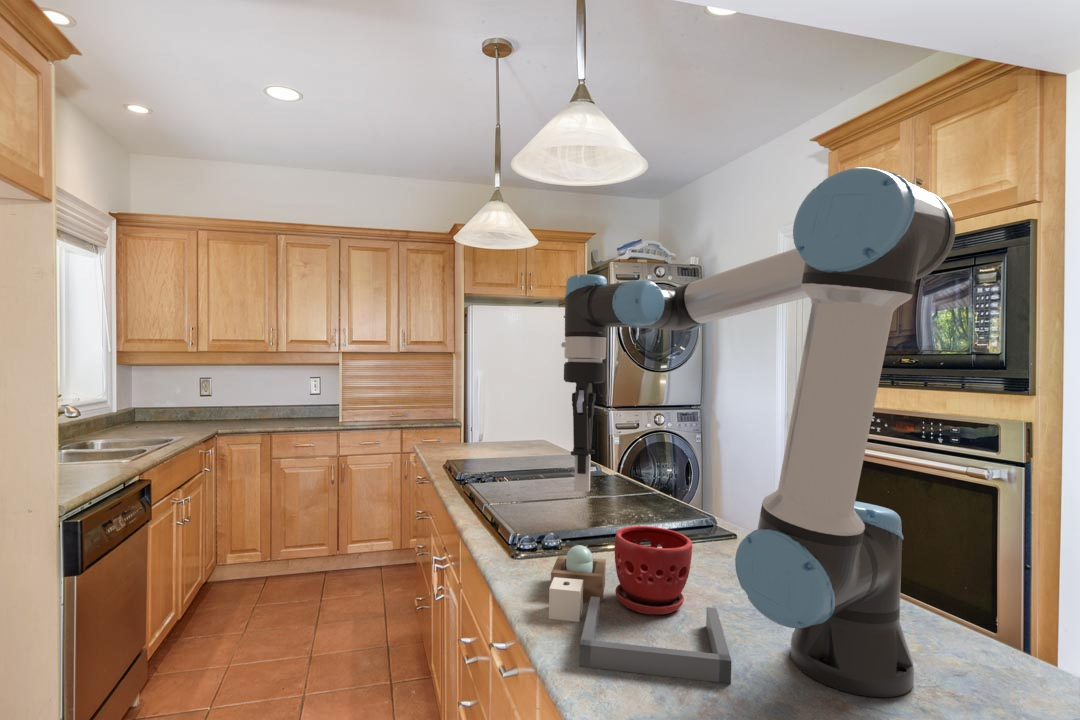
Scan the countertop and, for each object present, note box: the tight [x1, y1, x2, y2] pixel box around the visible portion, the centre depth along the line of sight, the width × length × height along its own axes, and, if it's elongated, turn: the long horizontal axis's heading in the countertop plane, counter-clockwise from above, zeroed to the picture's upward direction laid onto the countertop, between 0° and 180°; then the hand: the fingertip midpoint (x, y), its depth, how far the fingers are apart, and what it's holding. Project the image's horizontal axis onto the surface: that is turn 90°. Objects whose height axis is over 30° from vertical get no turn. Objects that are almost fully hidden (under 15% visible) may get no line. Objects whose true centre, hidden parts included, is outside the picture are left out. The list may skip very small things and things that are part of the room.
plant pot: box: [614, 525, 693, 615], centre depth 101 cm, size 13×13×12 cm
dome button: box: [566, 544, 593, 573], centre depth 106 cm, size 5×5×7 cm
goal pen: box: [578, 596, 732, 685], centre depth 86 cm, size 20×16×3 cm
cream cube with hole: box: [548, 577, 584, 623], centre depth 97 cm, size 5×5×5 cm
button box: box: [550, 555, 607, 604], centre depth 106 cm, size 9×9×4 cm
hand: (582, 490), depth 106 cm, fingers closed
